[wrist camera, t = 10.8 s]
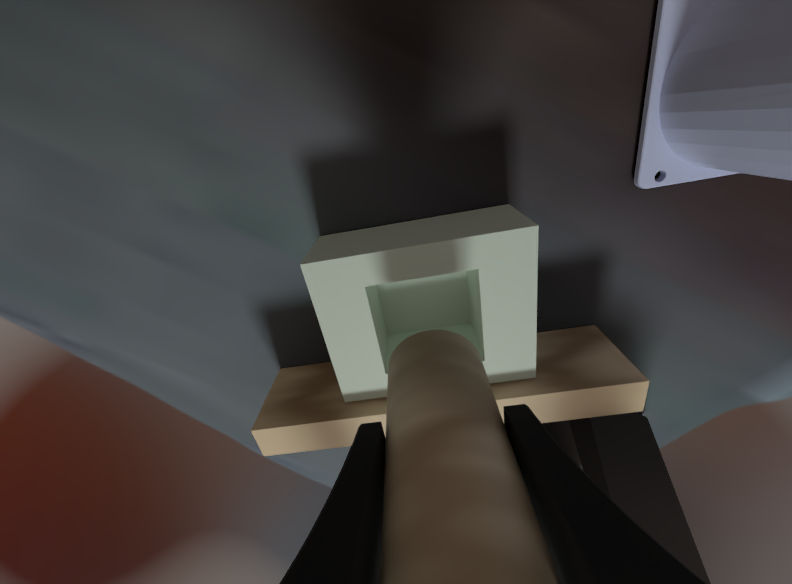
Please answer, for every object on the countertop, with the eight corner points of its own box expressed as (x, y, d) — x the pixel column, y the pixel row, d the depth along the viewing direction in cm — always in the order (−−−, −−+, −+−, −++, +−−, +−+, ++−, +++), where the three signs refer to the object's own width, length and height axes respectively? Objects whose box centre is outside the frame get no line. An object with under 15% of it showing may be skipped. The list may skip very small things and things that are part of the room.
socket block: (508, 204, 17) (538, 225, 14) (512, 333, 21) (535, 377, 17) (319, 236, 18) (300, 264, 14) (353, 355, 22) (344, 402, 18)
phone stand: (559, 484, 28) (662, 715, 17) (499, 461, 26) (570, 695, 16) (644, 414, 24) (843, 650, 13) (579, 382, 23) (742, 616, 12)
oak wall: (594, 324, 21) (649, 381, 16) (591, 350, 21) (643, 411, 17) (280, 368, 22) (250, 430, 18) (289, 391, 23) (264, 456, 19)
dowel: (478, 322, 12) (594, 613, 5) (484, 397, 14) (578, 697, 7) (379, 337, 12) (356, 630, 5) (396, 408, 14) (396, 706, 7)
